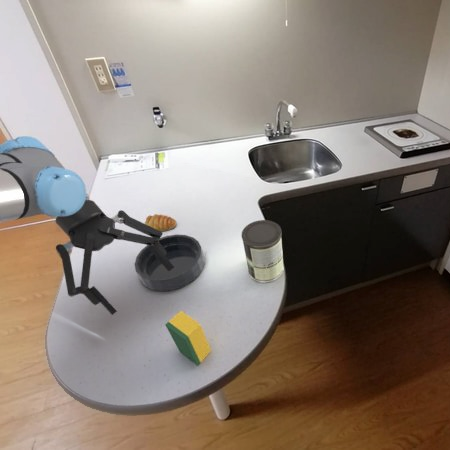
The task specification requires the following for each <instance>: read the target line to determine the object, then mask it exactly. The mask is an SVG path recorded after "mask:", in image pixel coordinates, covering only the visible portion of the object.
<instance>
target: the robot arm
mask: <svg viewBox="0 0 450 450" xmlns="http://www.w3.org/2000/svg"><path fill="white" fill-rule="evenodd" d="M90 198H91V196H90V195H89V194H88V193H87V189H86V184H85V181H84V180H83V178H82V177H81V176H80V175H79V174H78V173H76V172H75V171H73V170H71V169H68V168H65V167H64V166H63V164H62V163H61V162H60V161H59V159H58V158H57V157H56V156H55V154H54V153H53V152H52V151H51V150H49V148H47V147H46V146H45V144H43V143H42V141H40V140H39V139H38V138H36V137H32V136H26V135H25V136H23V135H22V136H17V137H16V138H14V139H11V138H10V139H8V140H6V141H4V142H2V143H1V144H0V224H3V223H9V222H11V221H16V220H17V221H18V220H21V219H26V218H32V217H35V216H42V215H45V216H48V217H50V218H51V219H54V220H55V223H56V224H57V226H58V227H59V228H60V229H61V230H62V231H63V232H64V233H65V235H66V236H67V237H68V238H69V241H67V242H65V243H63V244H61V243H59V244H57V245H56V246H55V252H56V253H57V254H58V256H59V257H60V259H61V263H62V268H63V273H64V280H65V284H66V290H67V295H68V296H69V297H74V296H78V295H83V296H84V297H85V298H86V299H87V300H88V301H89V302H90V303H91V304H92V305H93V306H97V305H99V304H101V305H102V306H103V307H104V308H105V309H106V310H107V312H109V314H110V315H111V316H113V315H115V314H116V313H117V312H118V310H116V308H115V307H114V306H113V304H111V303H110V302H109V300H108V299H106V297H105V296H104V295H103V294H102V293H101V292H100V291H99V289H97V288H96V286H94V285H93V286H91V287H89V285H90V276H91V275H90V274H91V267H92V257H93V256H92V255H93V252H100V251H101V250H102V249H103V248H104V247H106V246H109V245H110V244H112V243H113V242H114V240H117V241H124V242H125V241H126V242H131V243H136V244H141V245H145V246H147V245H150V246H152V247H151V248H150V251H151V252H152V253H153V254H154V255H155V256H156V257H157V259H158V260H159V261H160V262H161V263H162V264H163V266H164V267H165V268H166V269H167V270H168V271H170V270H171V269H173V268H174V266H173V265H172V264H171V263H170V261H169V260H168V259H167V258H166V257H165V255H166V254H167V251H166V250H165V249H164V248H163V247H162V245H161V244H160V243H159V239H160V238H162V237H163V231H159V230H157V229H155V228H152V227H150V226H148V225H146V224H145V222H142V221H140V220H137V219H135V218H133V217H131V216H130V215H128V214H127V213H126V211H124V210H122V209H120V210H119V211H118V212H117V214H115V215H114V216H112V217H109V216H107V215H106V214H105V212H104V211H103V210H102V209H101V207H100V206H98V204H97V203H96V202H95V201H94V200H92V199H90ZM116 223H118V224H120V225H122V224H124V226H127V227H129V228H131V229H133V230H136V231H138V232H140V233H142V234H139V233H135V232H134V233H133V232H129V231H125V230H123V229H120V228H119V229H118V228H116ZM143 234H144V235H143ZM72 248H77V249H81V250H84V251H83V261H82V269H81V270H82V271H81V276H80V277H81V278H80V286H76V282H75V276H74V271H73V266H72V261H71V260H72V259H71V256H70V255H71V254H72V252H73V249H72Z"/></svg>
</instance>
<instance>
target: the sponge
mask: <svg viewBox="0 0 450 450" xmlns="http://www.w3.org/2000/svg"><path fill="white" fill-rule="evenodd" d="M164 326H165V327H166V330H167V331H168V333H169V335H170V336H171V338H172V340H173V342H174V344H175V346H176V348H177V350H178V351H179V353H181V354H182V355H183V356H184V357H186V358H187V359H188V360H189V361H191V362H192V363H193V364H195V365H196V366H199V365H200V363H202V362H203V361H204V360H205V358H206V357H207V356H208V355H209V354H211V352H212V350H211V347H210V345H209V342H208V340H207V338H206V335H205V332H204V330H203V327H202V325H201V324H200V323H199V322H198V321H196V320H195V319H194V318H192V317H191V316H189V315H188V314H187V313H185V312H184V311H182V310H179V312H177V313H176V314H175V315H174V316H173V317H172V318H171V319H169V320H168V321H167V322H166V323H165V324H164Z"/></svg>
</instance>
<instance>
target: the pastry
mask: <svg viewBox="0 0 450 450" xmlns="http://www.w3.org/2000/svg"><path fill="white" fill-rule="evenodd" d="M144 224H146V225H148V226H150V227H152V228H155V229H157V230H159V231H161V232H166V231H170V230H172V229H174V228H175V227H176V225H177V221H176V219H175V218H173V217H171V216H168V215H164V214H158V213H156V214H153V215H151V214H150V215H148V216H147V217H146V218H145V220H144Z"/></svg>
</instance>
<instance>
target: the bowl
mask: <svg viewBox="0 0 450 450" xmlns="http://www.w3.org/2000/svg"><path fill="white" fill-rule="evenodd" d="M159 243H160V244H161V245H162V247H163V248H164V249H165V250H166V251H167V254H166V255H165V257H166V258H167V259H168V260H169V261H170V263H171V264H172V265H173V266H174V268H173V269H171V270H170V271H168V270H167V269H166V268H165V267H164V266H163V264H162V263H161V262H160V261H159V260H158V259H157V257H156V256H155V255H154V254H153V253H152V252H151V251H150V248H151V247H152V246H150V245H145V246H144V247H143V248H142V249H141V250H140V252H139V253H138V254H137V256H136V257H135V261H134V269H135V272H136V274H137V276H138V277H139V280H140V282H141V283H142V284H143V285H144V287H146V288H148V289H150V290H152V291H158V292H166V291H167V292H168V291H172V290H177V289H179V288H182V287H185V286H187V285H188V284H190V283H191V282H192V281H194V280H195V279H197V277H198V276H199V275H200V274H201V272H202V271H203V268H204V266H205V255H204V251H203V248H202V246H201V244H200V242H199V240H197V239H196V238H194V236H190V235H187V234H170V235H165V236H161V237H160V239H159Z"/></svg>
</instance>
